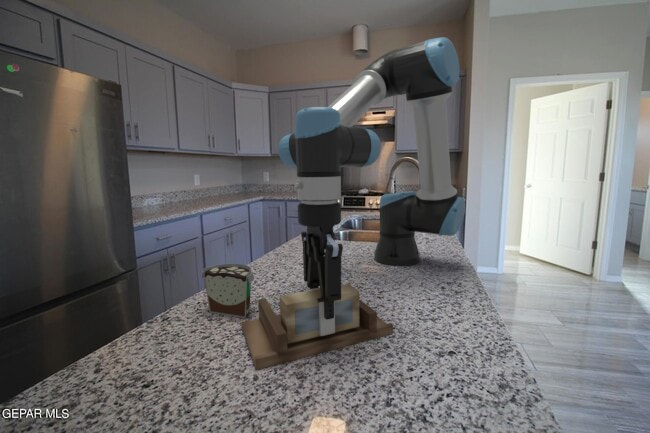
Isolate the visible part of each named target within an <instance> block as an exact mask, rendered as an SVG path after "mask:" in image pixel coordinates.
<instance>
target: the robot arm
mask: <svg viewBox="0 0 650 433" xmlns="http://www.w3.org/2000/svg"><path fill="white" fill-rule="evenodd" d="M460 69H461V68H460V61H459V56H458V53H457V50H456V48H455V45H454V44H453V43H452V41H451V40H450V39H449V38H448V37H444V36H443V37H442V36H441V37H435V38H431V39H430V38H429V39H426V40H424V41H421V42H417V43H412V44H411V45H408V46H404V47H401V48H397V49H393V50H392V49H391V50H390V51H388V52H386V53H384V54H382V55H381V56H379V57H377V59H375V60H373V61H372V62H371V63H370V64H369V65H367V66H366V67H365V68H364V69H363V70H361V71H360V72H359V73H358V74H357V75H356V76H355V78H354V81H353V83H352V84H351V85H350V87H348V88H347V89H346V90H345V91H344V92H343V93H341V94H340V95H339V96H338V97H337V98H336V99H335V100H334V101H332V102H331V103H330V104H329V106H310V107H305V108H303V109H300V110H299V111H298V112H297V113H296V114H295V128H294V129H295V130H294V132H293V133H290V134H287V135H285V136H283V137H282V138H281V140H280V141H279V143H278V150H277V151H278V156H279V158H280V160H281V162H282V164H284V165H285V166H286V167H288V168H296V181H297V182H295V184H294V188H295V189H297V199H298V200H299V201H301V202H299V203H298V204H297V222H298V224H299V225H301V226H304V227H306V231H301V234H300V236H301V241H302V259H303V263H302V264H303V281H304V282H306V286H307V288H308V291H313V290H318V289H320V293H321V298H318V299H317V301H318V303H319V334H320V336H324V335H328V334H332V333H335V301H336V300H341V285H342V256H343V251H344V246H343V244H342V243H336V240H335V233H334V227H335V226H337V225H339V224H340V223H341V222H342V204H340V201H339V200H341V198H342V194H341V193H342V183H341V182H342V176H341V168H352V167H354V168H364V167H369V166H371V165H372V164H374V163H375V162H376V161H377V160H378V159H379V157H380V153H381V148H382V146H381V139H380V138H379V136H378V134H376V132H374V131H373V130H371V129H369V128H367V127H364V126H361V127H357V126H354V125H355V124H356V123H357V122H358V121H359V120H360V119H361V118H362V117H363V116H364V115H365V114H366V113H367V112H368V110H370V109H371V107H373V106H376V105H378V104H380V103H381V102H383V100H385V99H388V98H391V97H395V96H400V95H406V96H405V97H406V102H407V103H408V104H409V105H411V106H412V110H413V119H414V120H413V121H414V130H415V132H414V133H415V141H416V143H415V144H416V151H417V153H416V154H417V163H418V172H419V182H420V184H419V185H420V189H419V190H417V191H414V190H411V191H401V192H392V193H386V194H383V195H381V197H380V199H379V200H380V201H379V206H378V209H379V236H378V241H377V243H376V247H375V250H374V256H373V257H374V258H373V259H374V261H376V262H378V263H380V264H383V265H384V264H385V265H389V266H411V265H416V264H418V263H419V262H420V251H419V249H418V245H417V242H416V238H415V233H422V234H429V235H436V236H437V235H438V236H449V237H450V236H454V235H456V234H457V233H458V232H459V230H460V228H461V227H462V224H463V221H464V217H465V214H466V213H465V212H466V201H465V199H464V198H463V197H461V196H458V190H457V188H456V187H454V186H453V185H452V176H451V159H450V144H449V143H450V142H449V139H450V138H449V126H448V124H449V123H448V111H447V110H448V107H447V101H448V99H449V97H451V95H452V94H453V87H454V86H455V85H457V84H458V82H459V79H460V73H461V72H460ZM338 201H339V202H338ZM324 255H325V256H324Z"/></svg>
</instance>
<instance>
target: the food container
mask: <svg viewBox="0 0 650 433" xmlns="http://www.w3.org/2000/svg"><path fill="white" fill-rule="evenodd" d="M201 278H202V279H203V280H204V281H203V282H204V287H205V293H206V299H207V304H208V311H209V313H212V314H217V315H219V314H220V315H225V316H230V317H235V318H236V317H237V318H242V319H247V318H248V316H249V315H250V313H251V312H250V311H251V285H252V282H253V281H254V280H255V276H254V273H253V270H252V268H251V266H249V265H247V264H243V263H220V264H216V265H210V266H206V267H204V268H202V271H201Z"/></svg>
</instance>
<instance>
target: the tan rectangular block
mask: <svg viewBox="0 0 650 433" xmlns="http://www.w3.org/2000/svg"><path fill="white" fill-rule="evenodd" d="M318 298H321V293H320V289H318V290H313V291H309V290H308V291H303V292H302V291H301V292H298V293H292V294H291V293H290V294H285V295H279V309H280V313H279V315H281V325H282V326H283V328H284V330H285V331H286V333H287V344H289V343H293V342H297V341H301V340H306V339H310V338H314V337H318V336H320V334H319V303H318V301H317V299H318ZM359 299H360V290H359V289H357V288H356V287H354V286H353V285H352V284H349V283H348V284H341V300H336V301H335V332H339V331H343V330H347V329H351V328H355V327H359Z"/></svg>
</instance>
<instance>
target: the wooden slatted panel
mask: <svg viewBox="0 0 650 433" xmlns="http://www.w3.org/2000/svg"><path fill="white" fill-rule="evenodd" d="M257 303H258V304H257V305H258V318H257V319H256V318H255V319H252V320H247V321H242V322H241V325H240V326H241V330H242V332H243V334H244V335H243V336H244V338H245V341H246V344H247V347H248V351H249V353H250V356H251V359H252V361H253V365H254V367H255V371H258V370H260V369H266V368H269V367H272V366H276V365H280V364H283V363H287V362H291V361H295V360H298V359H302V358H307V357H309V356H313V355H317V354H318V355H319V354H320V353H324V352H328V351H332V350H336V349H340V348H343V347H348V346H352V345H355V344H359V343H362V342H366V341H369V340H373V339H377V338H381V337H385V336H389V335H392V334H394V324H393V323H391V322H389V323H387V322H385V321H384V320H382V318H380V317H379V316H378V312H377V311H375V309H373V308H371V307H370V306H369V305H368V304H367V303H365V302H364V301H362V300H361V299H360V298H359V327H355V328H351V329H347V330H343V331H339V332H335V333H332V334H328V335H324V336H318V337H314V338H310V339H306V340H301V341H297V342H293V343H289V344H287V333H286V331H285V330H284V328H283V326H282V325H281V315H280V314H276V313H275V312H274V310H273V308H272V306H271V305H270V303H269V301H268V300H267V298H265V299H258V302H257Z"/></svg>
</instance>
